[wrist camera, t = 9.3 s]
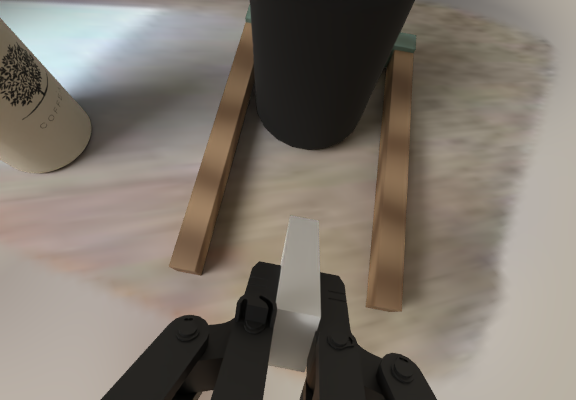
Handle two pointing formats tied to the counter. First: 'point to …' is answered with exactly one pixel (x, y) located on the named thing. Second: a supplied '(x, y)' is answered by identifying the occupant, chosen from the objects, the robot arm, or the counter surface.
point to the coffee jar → (320, 64)
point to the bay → (389, 186)
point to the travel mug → (36, 112)
